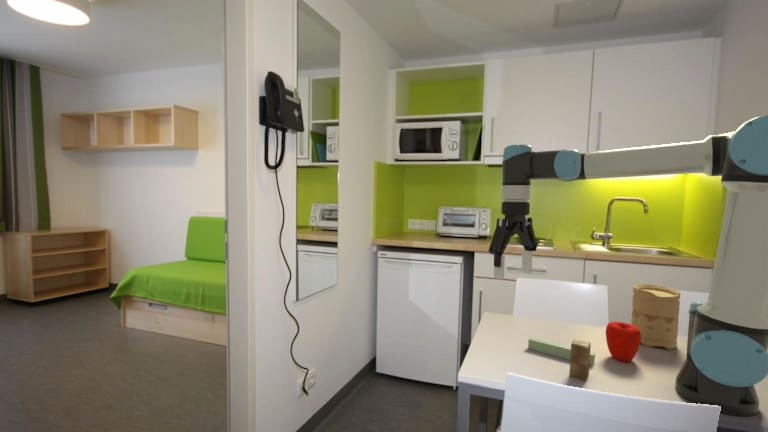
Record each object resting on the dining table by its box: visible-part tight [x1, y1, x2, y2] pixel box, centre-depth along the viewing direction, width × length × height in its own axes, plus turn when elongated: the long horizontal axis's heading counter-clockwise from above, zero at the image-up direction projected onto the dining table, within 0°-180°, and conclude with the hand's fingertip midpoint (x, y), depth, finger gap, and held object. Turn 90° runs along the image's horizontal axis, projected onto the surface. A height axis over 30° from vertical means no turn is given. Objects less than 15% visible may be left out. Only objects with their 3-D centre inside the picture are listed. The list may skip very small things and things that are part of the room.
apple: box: [605, 321, 642, 363], centre depth 111 cm, size 9×9×11 cm
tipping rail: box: [527, 336, 596, 366], centre depth 112 cm, size 18×2×3 cm, turn 53°
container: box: [630, 283, 681, 351], centre depth 124 cm, size 13×13×18 cm
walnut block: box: [569, 338, 592, 382], centre depth 100 cm, size 4×4×9 cm
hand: (513, 275), depth 106 cm, fingers open, 13 cm apart
